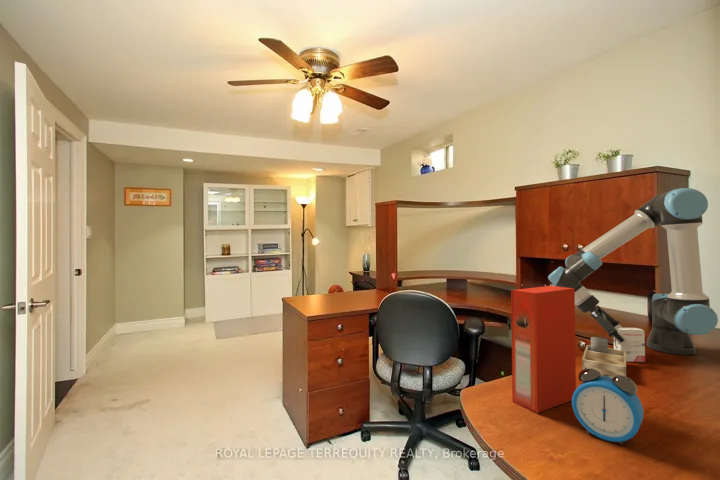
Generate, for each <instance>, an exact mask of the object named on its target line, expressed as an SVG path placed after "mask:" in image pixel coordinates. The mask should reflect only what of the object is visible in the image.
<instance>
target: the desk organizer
mask: <svg viewBox="0 0 720 480" xmlns="http://www.w3.org/2000/svg"><path fill="white" fill-rule="evenodd" d="M585 368H586V369H587V368H593V369H596V370H598V371H599V372H600V373H601V376H604V374H606V375H609V377H611V378H613V377H614V376H616V375H623V376H626V377H627V362H626V351H624V350H618V349H614V348H612V347H611V348H610V347H609V340H608V338H604V337H601V336H591V337H590V344H586V346H585V349H584V352H583V355H582V358H581V371H582V370H584V369H585ZM607 377H608V376H607Z"/></svg>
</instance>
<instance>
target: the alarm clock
mask: <svg viewBox="0 0 720 480" xmlns="http://www.w3.org/2000/svg"><path fill="white" fill-rule="evenodd" d="M607 376H608V377H607ZM578 380H579V381H580V382H581V383H580V385H578V386H577V387H576V390H575V392H574V394H573V397H572V400H571V407H572V410H573V413H574V416H575V417H576V419H577V420H578V422H579V423H580V424H581V425H582V427H583V428H584V429H586V434H589V433H590V434H592V435H594V436H595V437H596V438H599V439H602V440H603V441H608V442H614V443H619V444H620V446H623V447H624V444H623V442H626V441H628V440H630V439H633V438H634V436H636V434H637V433H638V431H639V429H640V427H641V425H642V423H643V420H644V408H643V404H642V401H641V400H640V397H639V396H638V395H637V393H638V386H637V384H636V382H634V380H633V379H632V378H630V377H628V376H627V375H626V376H623V375H616V376H614V377H613V378H611V377H609V375H606V374H604V376H601V373H600V372H599V371H598V370H596V369H593V368H587V369H586V368H585V369H584V370H582V369H581V371H580V372H579V374H578Z"/></svg>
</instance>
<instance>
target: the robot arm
mask: <svg viewBox="0 0 720 480" xmlns="http://www.w3.org/2000/svg"><path fill="white" fill-rule="evenodd" d="M708 207H709V200H708V199H707V197H706V195H705V194H704V193H703V192H701V191H700V190H698V189H696V188H692V187H691V188H690V187H683V188H680V187H679V188H675V189H673V190H668V191H665V192H661V193H659V194H656V195H655V196H654V197H652V198H651V199H650V200H648V201H646V203H644V204H643V205H641V206H640V207H639V208H637V209H636V210H634V214H633V215H632V216H629V218H627V219H625V220H623V221H622V222H621V223H619V224H618V225H616V226H615V227H613V228H612V229H610V230H609V231H607V232H605V233H604V234H603V235H601V236H600V237H598V238H597V239H595V240H594V241H592V242H590V243H589V244H587V245H586V246H585V247H582V249H580V250H578V251H577V252H575V253H573V254H571V255H569V256H568V257H566V259H565V261H564V263H565V268H564V267H563V266H558V267H557V268H556V269H555V270H553V271H552V272H551V273H550V274H549V275H548V276H547V278H548V280H549V282H551V284H552V286H557V287H565V288H574V289H575V306H576V307H577V308H578V309H579V311H580V312H581V313H583V314H586V313H588V312H590V316H591V317H592V318H593V319H594V320H595V321H596V322H597V323H598V324H599V326H600V327H602V328H603V330H604V331H605V332H606V333H607V334H608V336H607V337H609V338H611V337H612V338H613V339H614V338H615V339H616V340H617V341H618V342H619V343H620V344H621V345H622V346H623V347H624V348H625V349H626V350H627V351H628V350H630V349H631V348H633V347H634V345H633V344H632V343H631V342H629V341H628V340H627V339H626V338H625V337H624V336H623V335H622V334H621V333H620V332H619V331H617V330H616V329H615V328H614V327H623V326H622V325H621V324H620V323H621V322H620V320H617V319H615V318H614V317H612V316H611V315H610V314H609V313H607V312H606V311H605V310H604V309H602V307H601V306H600V305H598V304H599V303H600V300H599V299H598V298H597V297H595V296H594V295H593V294H591V292H590V291H589V290H588V289H587V288H586V287H585V286H584V285H583V284H581V282H582V281H583V280H585V279H586V278H588V277H589V276H590V275H591V274H593V273H594V272H595V271H596V270H599V268H600V267H601V266H602V265H603V261H602V259H603V258H604V257H606V256H607V255H609V254H611V253H612V252H614V251H615V250H617V249H618V248H620V247H622V246H623V245H625V244H626V243H628V242H629V241H631V240H632V239H634V238H635V237H637V236H639V235H640V234H642V233H643V232H644V231H646V230H648V229H655V228H656V227H657V226H659V225H660V226H661V228H663V229H664V230H665V231H666V235H667V236H666V239H667V249H668V260H669V263H668V264H669V271H670V273H669V274H670V275H669V276H670V284H671V285H670V286H671V292H670V293H657V292H656V293H653V295H652V299H651V317H652V318H651V322H652V325H651V326H652V329H651V330H650V333H649V335H648V337H647V339H646V346H647V347H648V348H650V349H652V350H655V351H657V352H661V353H666V354H671V355H679V356H682V355H683V356H693V355H696V353H697V349H696V345H695V343H694V340H693V338H692V336H691V335H693V336H702V335H706V334H709V333H711V332H712V331H713V330H714V329H716V327H717V326H718V322H719V318H718V315H717V313H716V311H715V310H714V309H713V308H712V307H710V306H711V305H710V298H709V296H708V295H706V294H705V293H704V291H703V281H702V269H701V267H702V266H701V257H700V245H699V244H700V243H699V231H698V229H699V227H700V226H702V224H703V223H704V222H703V221H704V220H703V215H704V214H705V212H707V210H708Z"/></svg>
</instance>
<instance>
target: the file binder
mask: <svg viewBox="0 0 720 480" xmlns="http://www.w3.org/2000/svg"><path fill="white" fill-rule="evenodd" d="M510 293H511V294H510V295H511V296H510V298H511V301H510V302H511V303H510V305H511V309H510V311H511V313H510V314H511V378H512V380H511V381H512V383H511V385H512V386H511V390H512V392H511V393H512V398H511V399H512V403H514V404H516V405H518V406H520V407H521V408H524V409H526V410H528V411H530V412H533V413H535V414H539V413H541V412H544V411H547V410H549V409H553V408H554V407H557V406H559V405H563V404H565V403H568V402H570V401H571V402H572V397H573V394H574V392H575V390H576V389H577V385H576V384H577V382H576V381H577V380H576V379H577V377H576V376H577V375H576V373H577V372H576V370H577V369H576V362H577V361H576V305H575V289H574V288H565V287H557V286H554V285H546V286H538V287H529V288H528V287H527V288H521V289H520V288H519V289H511V290H510Z"/></svg>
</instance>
